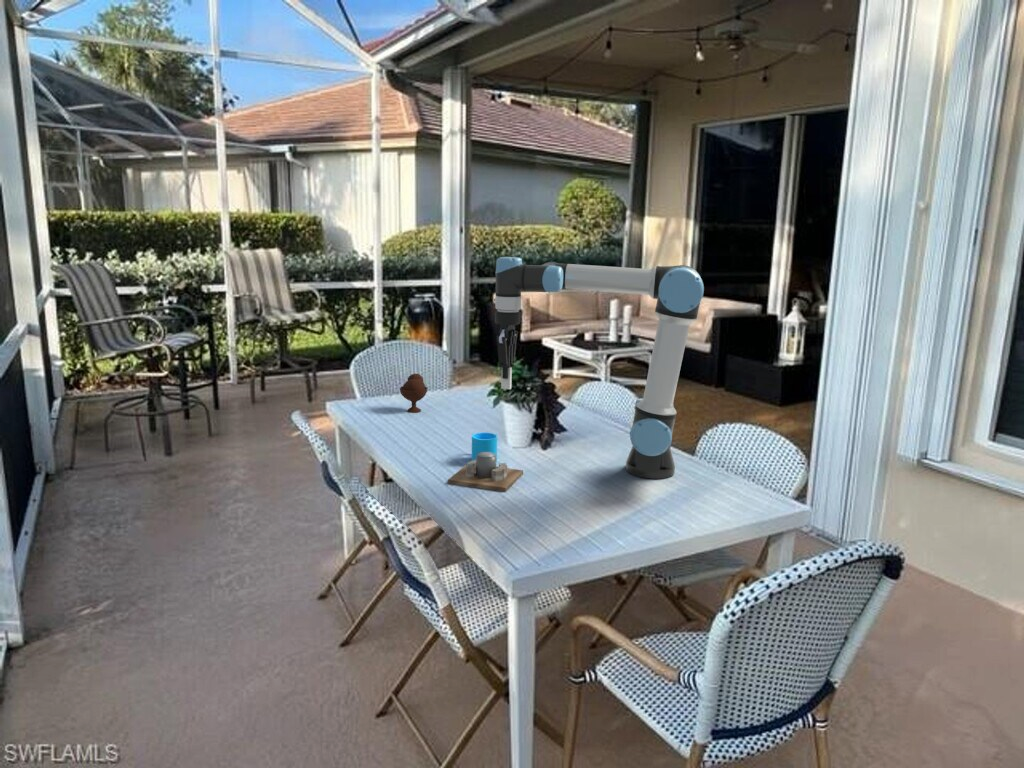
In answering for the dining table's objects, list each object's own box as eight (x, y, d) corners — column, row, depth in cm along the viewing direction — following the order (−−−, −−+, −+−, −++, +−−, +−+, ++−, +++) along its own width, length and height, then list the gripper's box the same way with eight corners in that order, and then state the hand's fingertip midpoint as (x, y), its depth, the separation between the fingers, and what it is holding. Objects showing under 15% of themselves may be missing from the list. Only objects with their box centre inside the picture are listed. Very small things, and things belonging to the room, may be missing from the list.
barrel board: (523, 474, 229) (523, 461, 228) (505, 491, 214) (506, 477, 213) (468, 466, 234) (468, 453, 233) (448, 483, 219) (448, 469, 218)
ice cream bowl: (397, 408, 300) (397, 372, 297) (425, 407, 304) (425, 370, 300) (402, 415, 290) (401, 377, 287) (430, 413, 294) (430, 376, 290)
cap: (498, 472, 226) (499, 452, 224) (492, 479, 220) (492, 458, 219) (480, 470, 227) (480, 450, 226) (473, 476, 222) (473, 456, 220)
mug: (500, 462, 239) (501, 438, 237) (477, 465, 235) (477, 441, 233) (486, 451, 249) (486, 428, 247) (463, 454, 246) (463, 430, 244)
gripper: (503, 307, 226) (501, 382, 232) (488, 312, 214) (486, 392, 220) (526, 308, 224) (524, 385, 229) (512, 313, 212) (511, 394, 217)
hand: (506, 388), depth 224 cm, fingers closed
